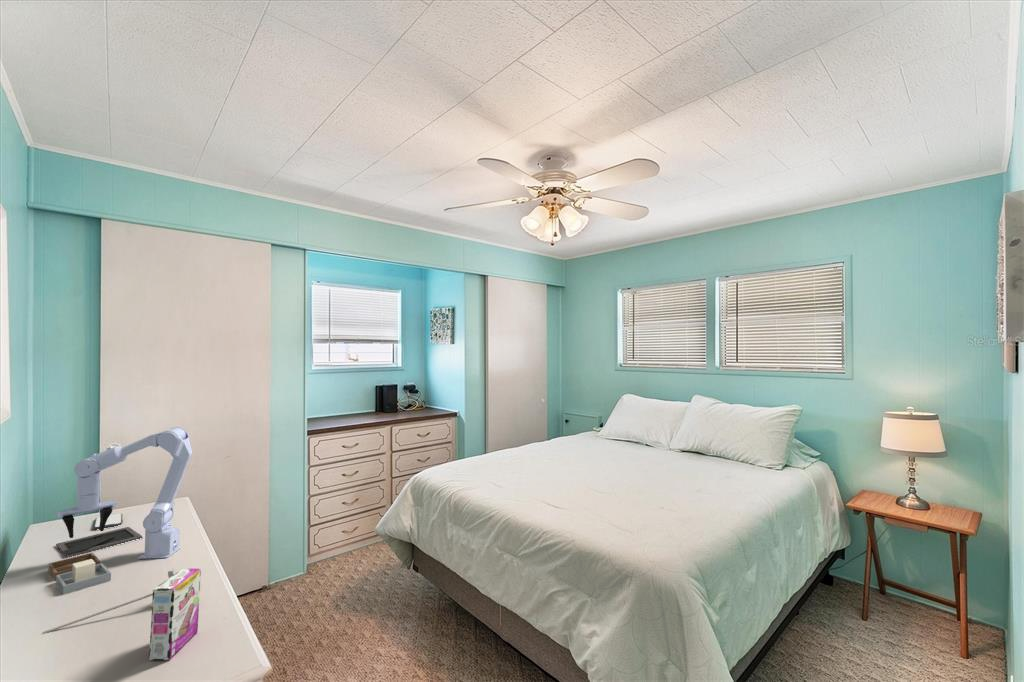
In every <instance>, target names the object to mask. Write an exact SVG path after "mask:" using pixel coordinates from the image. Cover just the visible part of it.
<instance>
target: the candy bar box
mask: <svg viewBox="0 0 1024 682" xmlns="http://www.w3.org/2000/svg"><path fill="white" fill-rule="evenodd" d="M201 573H202V569H201V568H182V569H180V570H178V571H177V572H175V575H173V576H172V577H170V578H169V577H168V579H166V580H165V581H164V582H162V583H161V584H159V585H158V586H156V587H155V588H153V589H152V593H153V596H152V601H151V602H152V603H151V616H150V617H151V620H150V636H149V637H150V638H149V639H150V640H149V650H148V651H149V652H148V653H149V654H148V655H149V656H148V661H150V662H157V661H158V662H159V661H160V662H162V661H164V662H165V661H170V660H171V659H172V658H173V657H174V656H175V655H176V654H177V653H178V652H179V651H181V650H182V648H183V647H184V646H185V645H186V644H188V643H189V641H190V640H191V639H193V637H194V636H196V634H198V627H199V609H200V607H199V606H200V591H201Z"/></svg>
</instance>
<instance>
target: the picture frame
mask: <svg viewBox="0 0 1024 682" xmlns="http://www.w3.org/2000/svg"><path fill="white" fill-rule="evenodd" d="M140 538H142V539H143V536H142V535H141V534H140V533H138V532H137V531H136V530H134V528H131V527H130V526H126V527H121V528H118V529H113V530H109V531H106V532H104V531H103V532H101V533H96V534H93V535H92V534H91V535H88V536H84V537H79V538H75V539H70V540H66V541H63V542H58V543H56V544H55V547H56V546H57V547H58V548H59V549H60V550H61V551H60V550H59V549H58V548H57V547H56V548H57V549H58V550H59V551H60V552H61V554H62V555H63V556H64V557H65V556H66V557H67V558H66V559H69V558H73V557H77V556H81V555H85V554H89V553H93V552H97V551H100V550H104V549H107V548H106V547H108V548H111V547H110V546H112V547H115V546H114V545H116V546H118V545H117V544H120V545H122V544H121V543H124V544H126V543H125V542H128V541H132V540H135V541H137V540H136V539H139V540H141V539H140ZM132 542H133V541H132ZM128 543H129V542H128ZM103 548H104V549H103ZM99 549H100V550H99ZM96 550H97V551H96ZM92 551H93V552H92ZM80 554H81V555H80ZM76 555H77V556H76ZM72 556H73V557H72ZM68 557H69V558H68Z"/></svg>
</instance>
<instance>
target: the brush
mask: <svg viewBox="0 0 1024 682" xmlns="http://www.w3.org/2000/svg"><path fill="white" fill-rule="evenodd" d="M175 574H176V569H175V567H173V568H172V569H171V570H169V571H168V572H167V577H168V579H169V578H170V577H172V576H173V575H175ZM149 597H153V592H152V593H149V594H146V595H144V596H141V597H138V598H135V599H133V600H132V599H131V600H129V601H125V602H123V603H121V604H118V605H114V606H112V607H110V608H107V609H103V610H101V611H98V612H96V613H92V614H90V615H87V616H84V617H81V618H78V619H75V620H73V621H69V622H66V623H63V624H61V625H58V626H55V627H53V628H49V629H47V630H44V631H43V632H42V634H43V635H44V634H49V633H51V632H53V631H57V630H59V629H61V628H65V627H68V626H71V625H73V624H76V623H79V622H82V621H85V620H87V619H90V618H93V617H95V616H99V615H101V614H104V613H108V612H111V611H113V610H116V609H117V608H118V609H119V608H122V607H124V606H126V605H130V604H133V603H135V602H138V601H141V600H144V599H146V598H149Z"/></svg>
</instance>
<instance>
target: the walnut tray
mask: <svg viewBox="0 0 1024 682" xmlns="http://www.w3.org/2000/svg"><path fill="white" fill-rule="evenodd" d="M89 559H93V561H94V562H95V565H97V564H101V563H102V562H101V560H100V558H98V557H97V555H95V553H94V552H89V553H85V554H81V555H77V556H73V557H69V558H66V559H62V560H61V559H60V560H57V561H54V562H50V563H48V566H47V568H48V570H47V571H48V573H49V575H50V576H51V578H52V579H53V581H54V582H56V575H60V574H63V573H67V572H71V571H72V565H73V564H74V563H78V562H82V561H85V560H89Z"/></svg>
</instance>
